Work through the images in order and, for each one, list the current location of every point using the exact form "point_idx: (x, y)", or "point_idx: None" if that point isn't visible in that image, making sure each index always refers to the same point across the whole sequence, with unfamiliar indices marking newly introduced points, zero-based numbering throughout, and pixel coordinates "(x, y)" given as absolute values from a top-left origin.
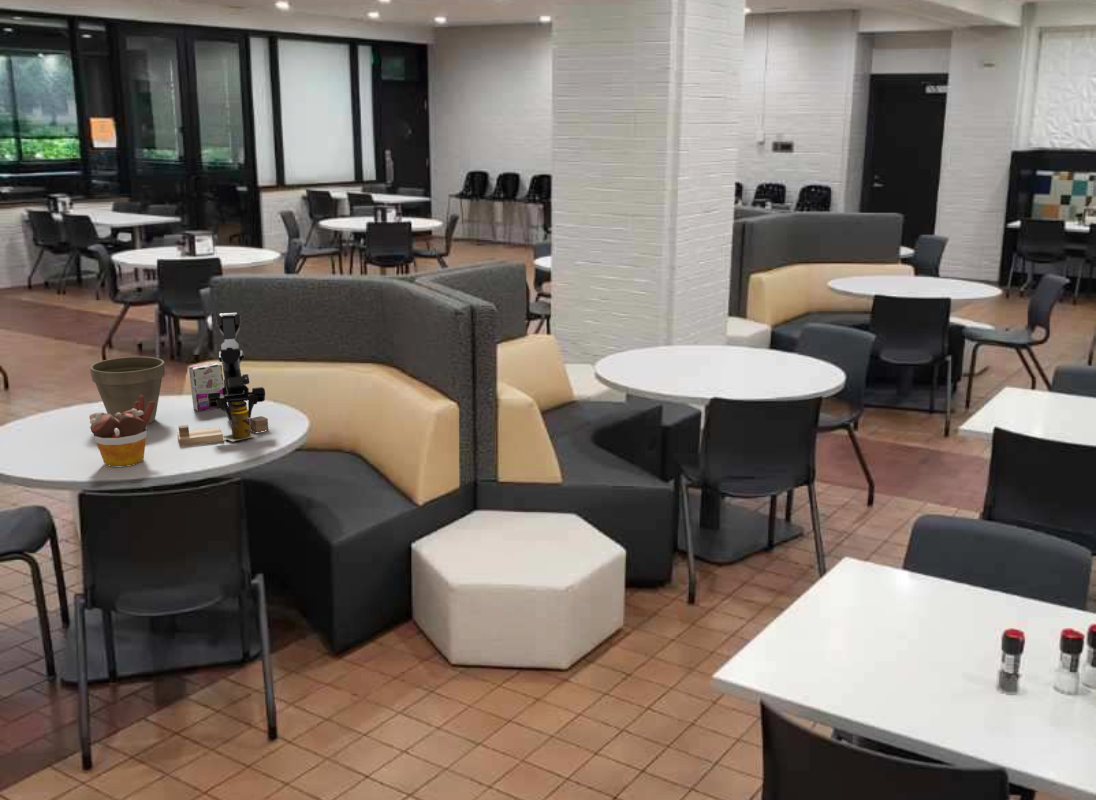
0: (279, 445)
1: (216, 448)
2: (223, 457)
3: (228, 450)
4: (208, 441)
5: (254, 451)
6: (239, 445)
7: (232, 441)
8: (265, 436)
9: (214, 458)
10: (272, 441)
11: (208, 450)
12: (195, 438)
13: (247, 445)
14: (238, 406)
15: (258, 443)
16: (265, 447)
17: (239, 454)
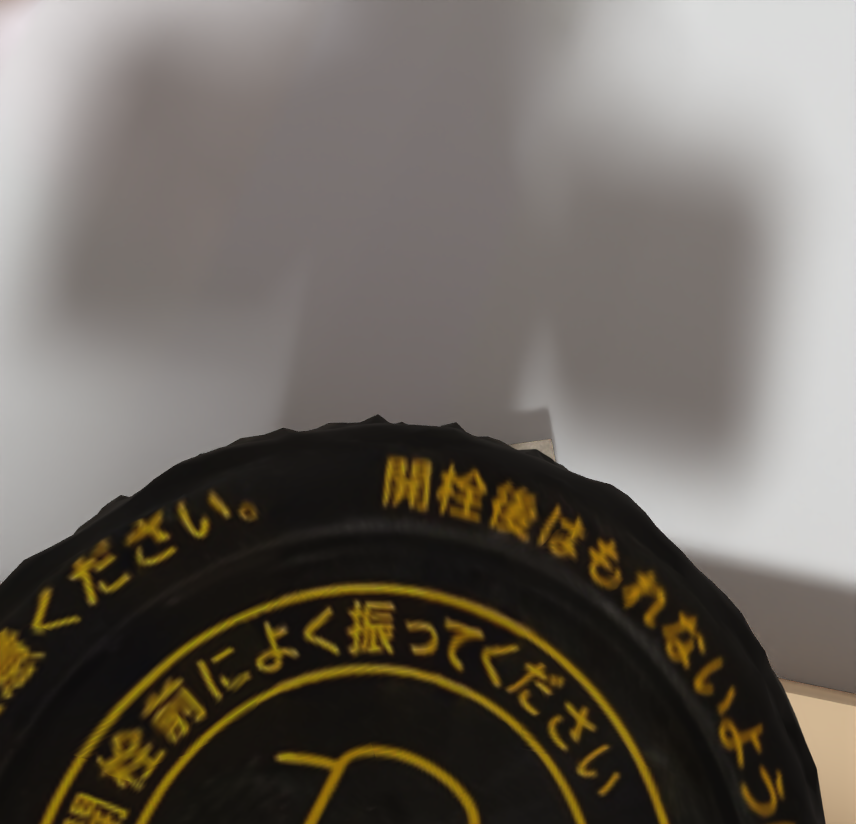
0: (93, 28)
1: (757, 383)
2: (765, 22)
3: (658, 219)
4: (809, 688)
5: (426, 4)
6: (491, 329)
7: (551, 443)
8: (47, 520)
9: (851, 49)
10: (83, 233)
11: (853, 363)
12: None
13: (410, 268)
14: (510, 446)
15: (266, 262)
16: (264, 60)
17: (597, 10)
